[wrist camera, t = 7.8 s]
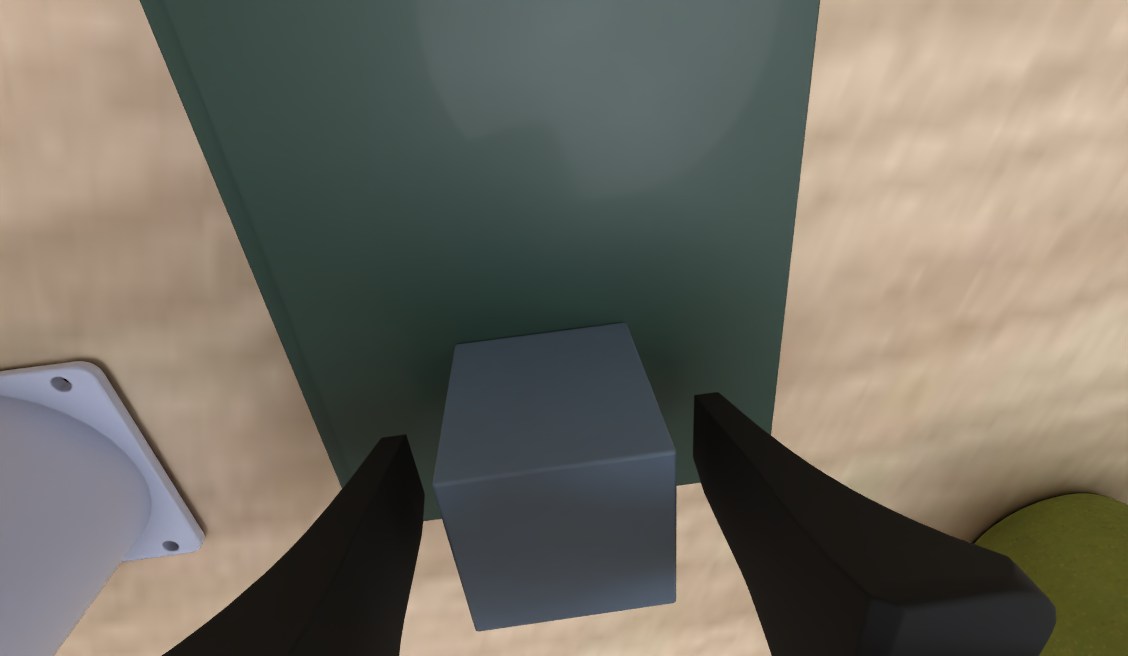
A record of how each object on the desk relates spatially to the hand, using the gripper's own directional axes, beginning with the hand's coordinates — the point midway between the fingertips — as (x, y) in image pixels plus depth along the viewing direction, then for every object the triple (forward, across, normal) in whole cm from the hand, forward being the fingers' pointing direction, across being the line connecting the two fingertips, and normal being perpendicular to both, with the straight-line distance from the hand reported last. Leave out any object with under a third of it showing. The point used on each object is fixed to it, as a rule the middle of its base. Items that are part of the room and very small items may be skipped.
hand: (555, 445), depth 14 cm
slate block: (+2, 0, 0) cm, 2 cm away
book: (+4, 0, -4) cm, 6 cm away
